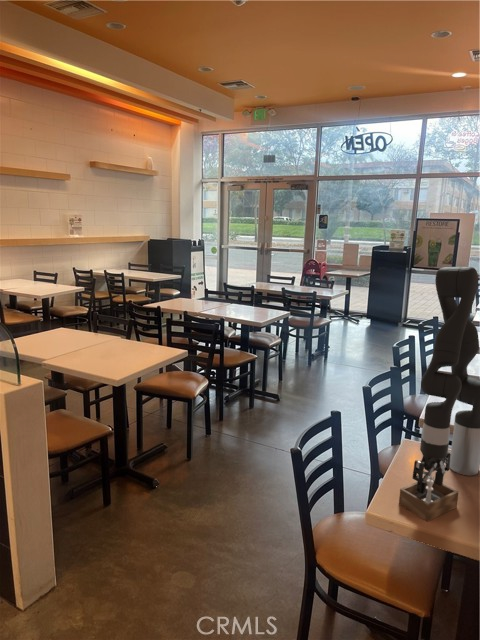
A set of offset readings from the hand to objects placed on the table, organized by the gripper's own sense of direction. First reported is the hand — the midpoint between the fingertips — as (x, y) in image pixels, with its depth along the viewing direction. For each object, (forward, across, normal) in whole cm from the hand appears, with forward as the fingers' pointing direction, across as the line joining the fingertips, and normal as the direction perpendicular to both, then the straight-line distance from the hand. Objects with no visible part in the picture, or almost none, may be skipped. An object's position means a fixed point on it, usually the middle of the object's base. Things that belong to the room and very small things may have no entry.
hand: (429, 488), depth 138 cm
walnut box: (+6, 0, 0) cm, 6 cm away
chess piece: (+6, 0, 0) cm, 6 cm away
